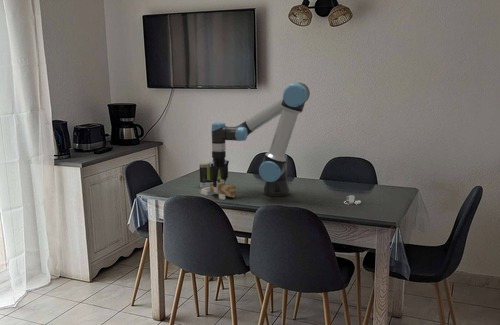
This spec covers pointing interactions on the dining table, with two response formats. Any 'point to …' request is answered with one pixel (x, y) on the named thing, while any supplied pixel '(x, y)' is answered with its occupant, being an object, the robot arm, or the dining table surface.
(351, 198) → the teacup and saucer
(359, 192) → the dining table surface
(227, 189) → the tan wooden bar
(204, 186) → the tea box
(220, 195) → the guide cap
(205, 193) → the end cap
